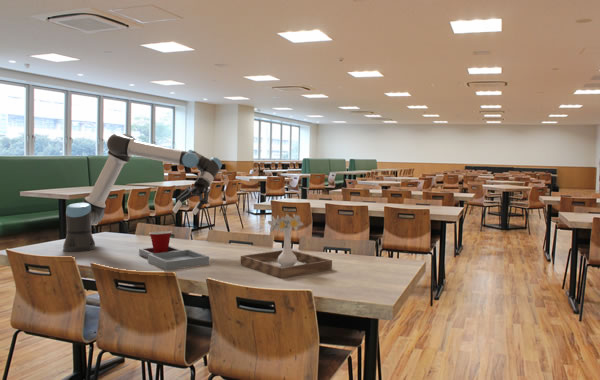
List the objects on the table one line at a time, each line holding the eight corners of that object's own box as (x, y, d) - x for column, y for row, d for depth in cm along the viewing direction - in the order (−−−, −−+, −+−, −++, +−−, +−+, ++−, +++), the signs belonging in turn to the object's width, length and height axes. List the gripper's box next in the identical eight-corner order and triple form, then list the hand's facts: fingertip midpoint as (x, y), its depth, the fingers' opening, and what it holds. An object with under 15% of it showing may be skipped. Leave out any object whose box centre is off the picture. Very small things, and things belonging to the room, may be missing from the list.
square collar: (139, 254, 242) (139, 248, 242) (168, 251, 252) (168, 245, 251) (151, 260, 230) (151, 254, 230) (182, 256, 240) (182, 250, 239)
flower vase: (276, 262, 230) (276, 211, 228) (309, 266, 221) (310, 214, 219) (261, 267, 219) (261, 214, 217) (295, 272, 210) (296, 216, 209)
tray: (148, 261, 227) (148, 254, 227) (188, 256, 240) (188, 249, 239) (166, 270, 211) (166, 262, 211) (209, 264, 224) (209, 256, 223)
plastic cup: (165, 252, 248) (164, 229, 248) (176, 255, 241) (176, 231, 240) (145, 255, 241) (144, 231, 240) (155, 259, 233) (155, 233, 232)
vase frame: (240, 264, 224) (240, 255, 223) (288, 257, 241) (288, 249, 240) (281, 278, 199) (282, 268, 199) (331, 269, 216) (332, 260, 216)
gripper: (225, 187, 259) (206, 218, 247) (189, 185, 271) (170, 215, 259) (218, 177, 254) (198, 209, 242) (182, 176, 266) (162, 206, 255)
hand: (183, 212), depth 251 cm, fingers open, 13 cm apart
